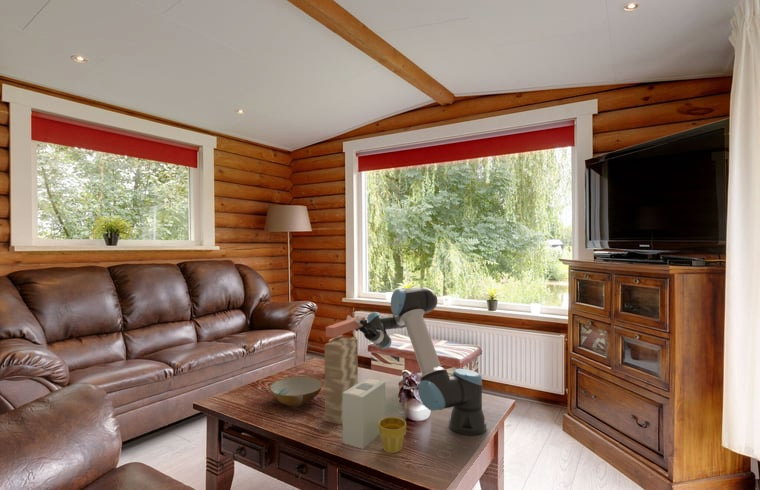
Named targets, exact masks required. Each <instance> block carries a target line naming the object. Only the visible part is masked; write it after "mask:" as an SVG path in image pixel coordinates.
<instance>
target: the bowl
mask: <svg viewBox="0 0 760 490" xmlns="http://www.w3.org/2000/svg"><path fill="white" fill-rule="evenodd" d="M323 383H324V382H323V381H322V380H321V379H319V378H315V377H312V376H300V375H299V376H291V377H285V378H281V379H278V380H276V381H274V382H273V383H271V385H269V387H268V388H269V391H270V393H271V395H272V396H273V398H275V400H276V401H278V402H279V403H281V404H283V405H286V406H288V407H302V406H304V405H306V404H308V403H310V402H311V401H313V400H314V399H315V398H316V397H318V395H319V393H320V391H321V390H322V388H323V386H324V384H323Z"/></svg>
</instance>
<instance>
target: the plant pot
mask: <svg viewBox="0 0 760 490" xmlns="http://www.w3.org/2000/svg"><path fill="white" fill-rule="evenodd" d="M406 433H407V422H406V421H405V420H404V418H403V419H402V418H401V417H396V416H387V417H385V418H383V419H382V420H380V421H379V435H380V438H381V443H382V447H383V450H384V451H385V453H389V454H397V453H399V452H400V451H401V450H402V447H403V441H404V437H405V435H406Z"/></svg>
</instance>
